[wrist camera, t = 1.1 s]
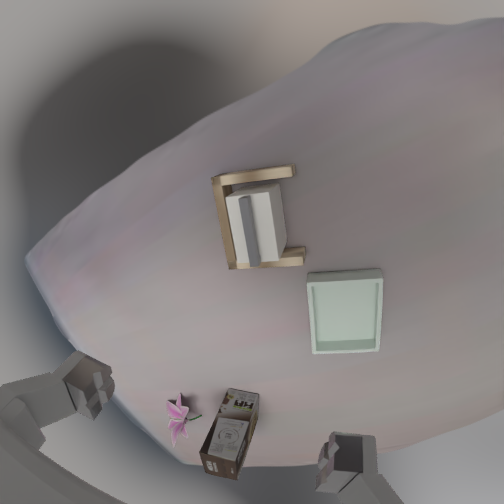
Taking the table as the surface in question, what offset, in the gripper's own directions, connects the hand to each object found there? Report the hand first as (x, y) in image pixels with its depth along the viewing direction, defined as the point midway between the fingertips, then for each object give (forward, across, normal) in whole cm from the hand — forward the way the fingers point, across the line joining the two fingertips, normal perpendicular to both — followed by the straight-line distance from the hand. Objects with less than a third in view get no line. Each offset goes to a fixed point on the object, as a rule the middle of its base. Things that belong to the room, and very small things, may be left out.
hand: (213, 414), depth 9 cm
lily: (+34, +14, +48) cm, 61 cm away
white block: (+33, +4, +2) cm, 33 cm away
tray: (+33, -11, +13) cm, 37 cm away
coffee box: (+34, +1, +41) cm, 53 cm away
